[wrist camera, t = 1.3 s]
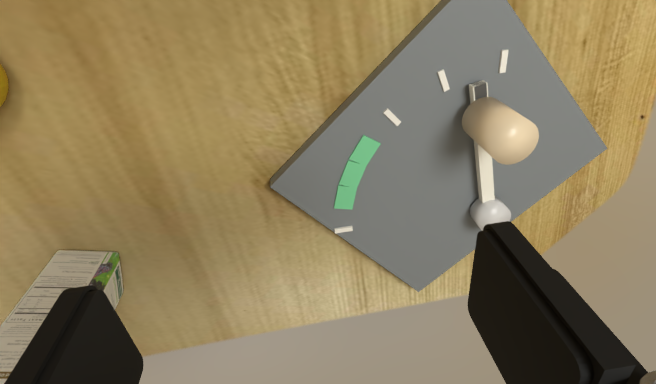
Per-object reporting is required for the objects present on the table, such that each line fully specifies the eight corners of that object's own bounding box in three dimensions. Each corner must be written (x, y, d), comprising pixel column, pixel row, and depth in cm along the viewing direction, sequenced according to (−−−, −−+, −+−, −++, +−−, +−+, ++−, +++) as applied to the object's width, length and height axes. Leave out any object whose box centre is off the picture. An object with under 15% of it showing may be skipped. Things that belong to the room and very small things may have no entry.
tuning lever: (503, 215, 40) (537, 254, 35) (469, 225, 40) (498, 265, 35) (496, 75, 32) (539, 98, 27) (454, 88, 32) (488, 114, 27)
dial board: (474, -35, 29) (485, -34, 28) (596, 141, 39) (608, 149, 37) (270, 179, 36) (269, 188, 35) (414, 282, 46) (419, 293, 45)
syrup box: (125, 291, 42) (63, 432, 29) (65, 290, 41) (-26, 435, 28) (119, 250, 39) (47, 387, 26) (54, 247, 38) (-53, 389, 25)
